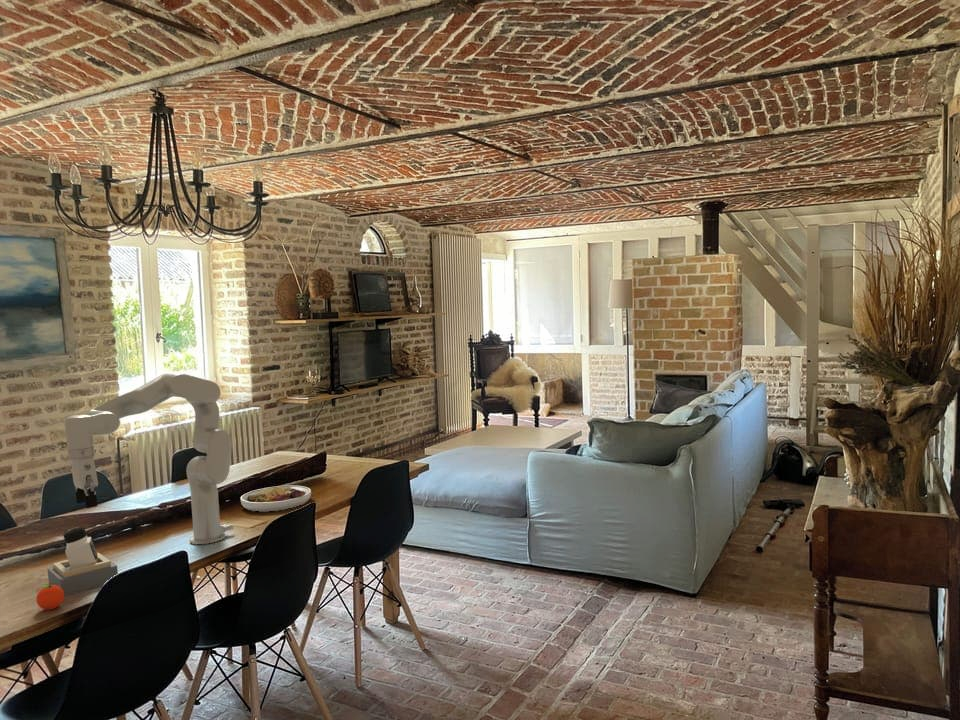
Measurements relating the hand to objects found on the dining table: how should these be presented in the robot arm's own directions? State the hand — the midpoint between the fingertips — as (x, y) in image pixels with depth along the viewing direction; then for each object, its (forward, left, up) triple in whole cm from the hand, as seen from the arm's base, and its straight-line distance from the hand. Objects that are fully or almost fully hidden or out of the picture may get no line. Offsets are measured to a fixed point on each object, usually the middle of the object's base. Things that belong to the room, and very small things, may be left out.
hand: (86, 504), depth 230 cm
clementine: (+17, +21, -24) cm, 36 cm away
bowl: (-83, -32, -24) cm, 92 cm away
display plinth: (+4, +5, -24) cm, 24 cm away
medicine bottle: (+3, +5, -18) cm, 19 cm away
